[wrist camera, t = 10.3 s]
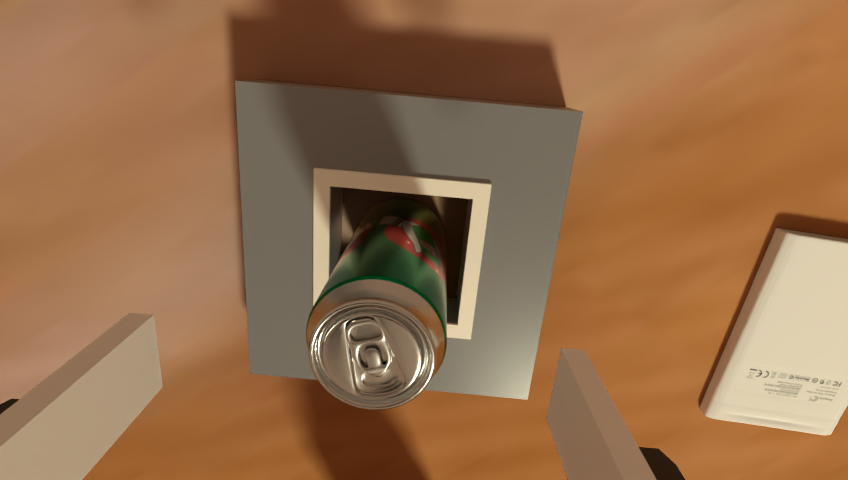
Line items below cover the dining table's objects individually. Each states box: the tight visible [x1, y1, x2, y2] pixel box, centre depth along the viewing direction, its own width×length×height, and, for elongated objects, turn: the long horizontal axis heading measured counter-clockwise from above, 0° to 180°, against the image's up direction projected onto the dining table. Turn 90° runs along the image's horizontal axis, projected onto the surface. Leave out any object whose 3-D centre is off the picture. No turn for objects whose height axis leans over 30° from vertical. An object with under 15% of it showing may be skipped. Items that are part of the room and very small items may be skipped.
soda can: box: [306, 199, 447, 410], centre depth 21 cm, size 5×5×12 cm
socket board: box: [235, 80, 583, 400], centre depth 25 cm, size 16×16×3 cm
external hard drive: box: [699, 228, 848, 435], centre depth 28 cm, size 2×8×12 cm
